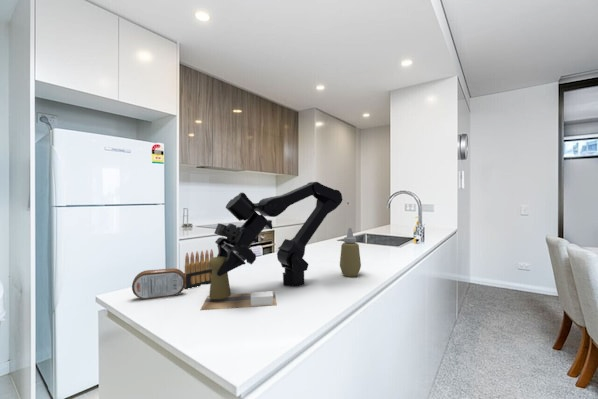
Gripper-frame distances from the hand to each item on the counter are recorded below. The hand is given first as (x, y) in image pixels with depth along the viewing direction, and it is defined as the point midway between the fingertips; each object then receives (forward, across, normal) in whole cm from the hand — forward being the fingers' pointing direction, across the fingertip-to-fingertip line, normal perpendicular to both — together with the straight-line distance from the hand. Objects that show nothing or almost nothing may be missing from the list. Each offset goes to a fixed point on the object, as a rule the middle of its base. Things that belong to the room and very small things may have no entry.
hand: (214, 273), depth 82 cm
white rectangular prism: (-1, +9, +13) cm, 16 cm away
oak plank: (+2, +4, +10) cm, 11 cm away
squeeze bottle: (-30, 0, +44) cm, 53 cm away
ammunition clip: (+6, -21, +8) cm, 23 cm away
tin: (+15, -16, -2) cm, 22 cm away
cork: (+4, 0, +6) cm, 7 cm away
